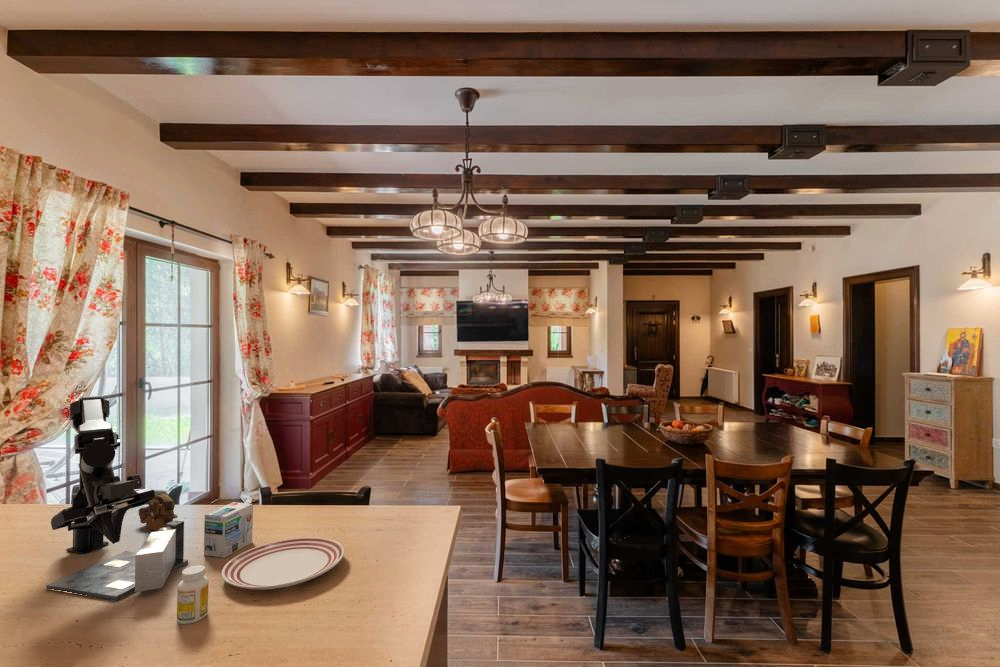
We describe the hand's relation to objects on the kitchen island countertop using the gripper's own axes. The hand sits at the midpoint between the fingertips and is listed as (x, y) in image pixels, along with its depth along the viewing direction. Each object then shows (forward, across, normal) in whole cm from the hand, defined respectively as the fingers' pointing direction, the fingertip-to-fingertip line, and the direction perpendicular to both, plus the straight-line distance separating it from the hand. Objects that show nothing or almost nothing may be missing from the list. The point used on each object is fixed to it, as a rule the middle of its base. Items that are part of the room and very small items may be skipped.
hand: (116, 542), depth 110 cm
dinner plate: (+23, +22, -21) cm, 38 cm away
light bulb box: (+11, +25, 0) cm, 27 cm away
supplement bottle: (+22, -1, -19) cm, 30 cm away
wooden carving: (-4, +26, +28) cm, 38 cm away
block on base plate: (+6, +4, +9) cm, 12 cm away
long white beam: (+10, +6, -1) cm, 12 cm away
